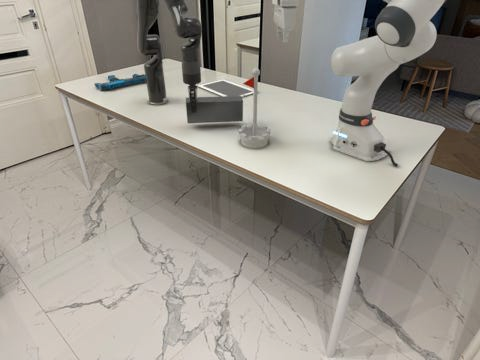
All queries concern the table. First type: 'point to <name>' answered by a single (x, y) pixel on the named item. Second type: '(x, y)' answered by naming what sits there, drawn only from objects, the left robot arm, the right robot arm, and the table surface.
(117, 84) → the submachine gun
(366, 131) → the right robot arm
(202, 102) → the box
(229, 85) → the tablet
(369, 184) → the table surface
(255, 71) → the flag stand
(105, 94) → the table surface
